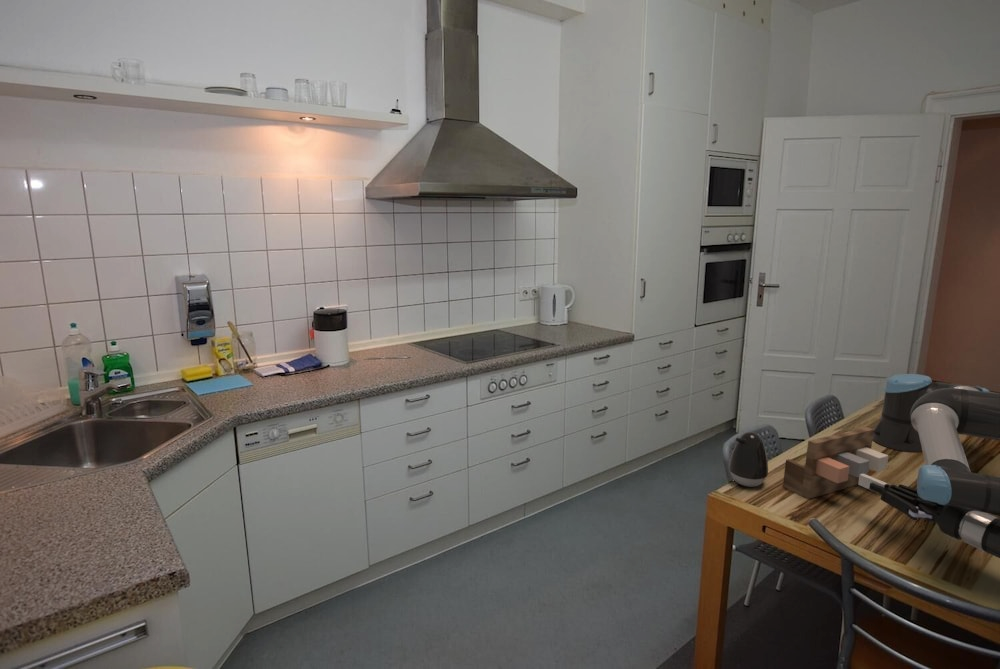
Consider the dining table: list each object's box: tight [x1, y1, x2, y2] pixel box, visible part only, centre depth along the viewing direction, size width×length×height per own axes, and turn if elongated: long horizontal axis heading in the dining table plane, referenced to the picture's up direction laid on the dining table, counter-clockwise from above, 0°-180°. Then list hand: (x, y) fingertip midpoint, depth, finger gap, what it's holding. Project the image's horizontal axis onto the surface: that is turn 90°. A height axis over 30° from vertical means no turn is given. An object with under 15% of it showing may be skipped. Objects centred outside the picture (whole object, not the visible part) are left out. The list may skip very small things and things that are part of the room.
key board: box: [782, 426, 875, 500], centre depth 159 cm, size 24×8×16 cm, turn 114°
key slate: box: [836, 451, 869, 478], centre depth 154 cm, size 4×8×4 cm, turn 24°
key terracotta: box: [815, 456, 850, 483], centre depth 151 cm, size 4×8×4 cm, turn 24°
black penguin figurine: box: [728, 431, 769, 488], centre depth 160 cm, size 10×10×15 cm
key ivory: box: [856, 447, 889, 473], centre depth 157 cm, size 4×8×4 cm, turn 24°
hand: (860, 479), depth 143 cm, fingers closed
